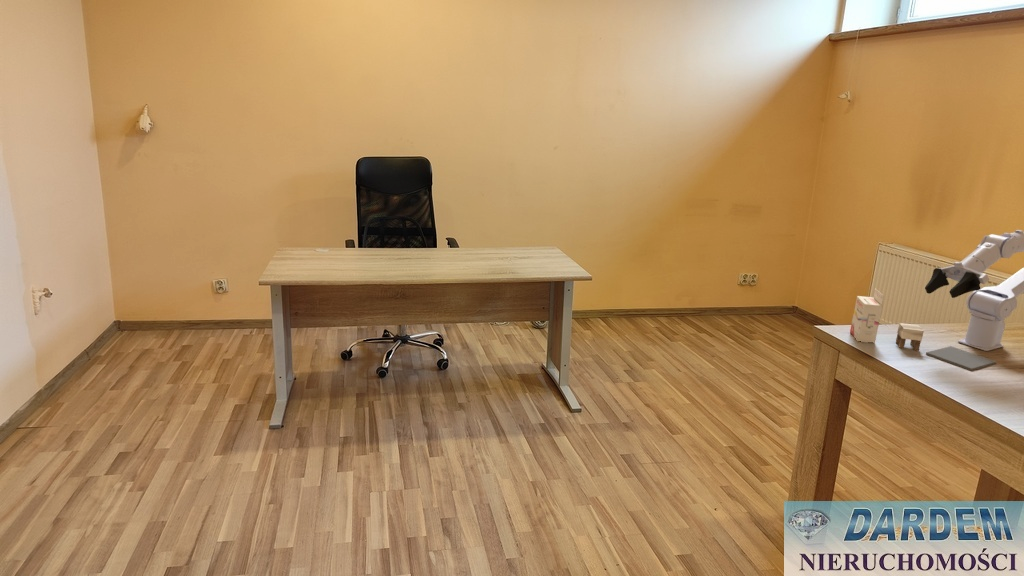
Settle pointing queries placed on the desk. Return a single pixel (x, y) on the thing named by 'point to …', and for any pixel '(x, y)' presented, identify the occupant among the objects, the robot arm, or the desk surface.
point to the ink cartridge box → (867, 317)
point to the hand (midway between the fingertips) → (939, 292)
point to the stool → (909, 335)
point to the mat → (961, 358)
